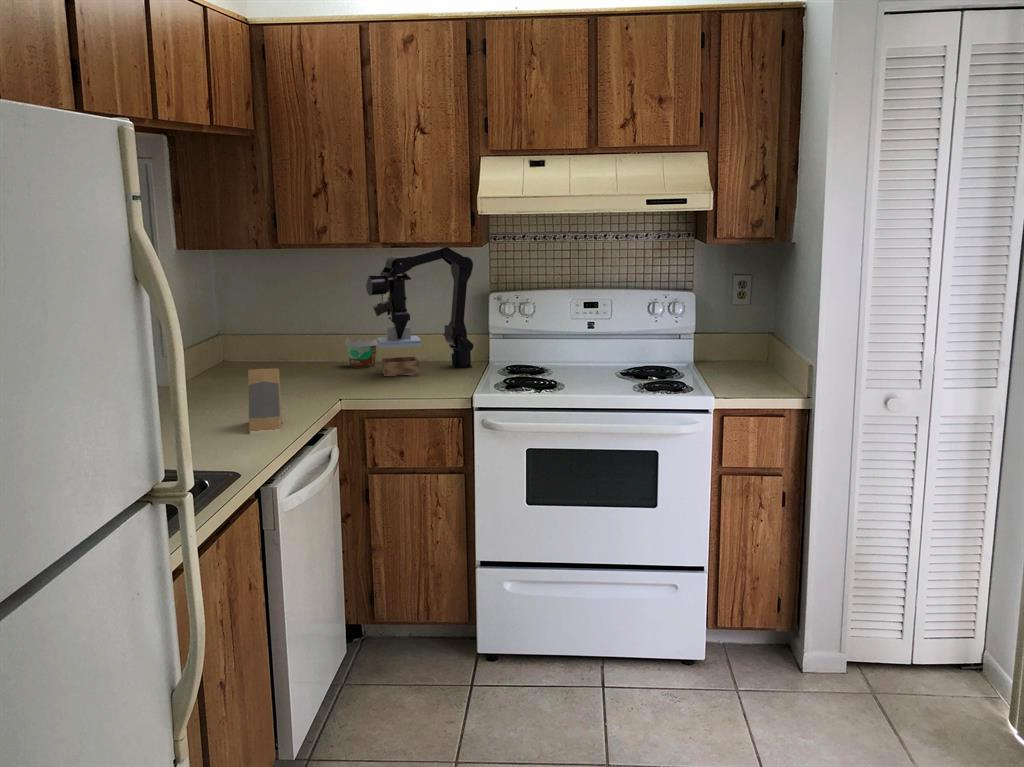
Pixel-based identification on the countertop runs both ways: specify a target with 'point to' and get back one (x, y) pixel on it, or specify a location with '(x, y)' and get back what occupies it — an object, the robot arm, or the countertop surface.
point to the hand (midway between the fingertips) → (398, 338)
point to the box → (400, 366)
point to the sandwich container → (264, 399)
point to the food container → (362, 352)
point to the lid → (393, 340)
